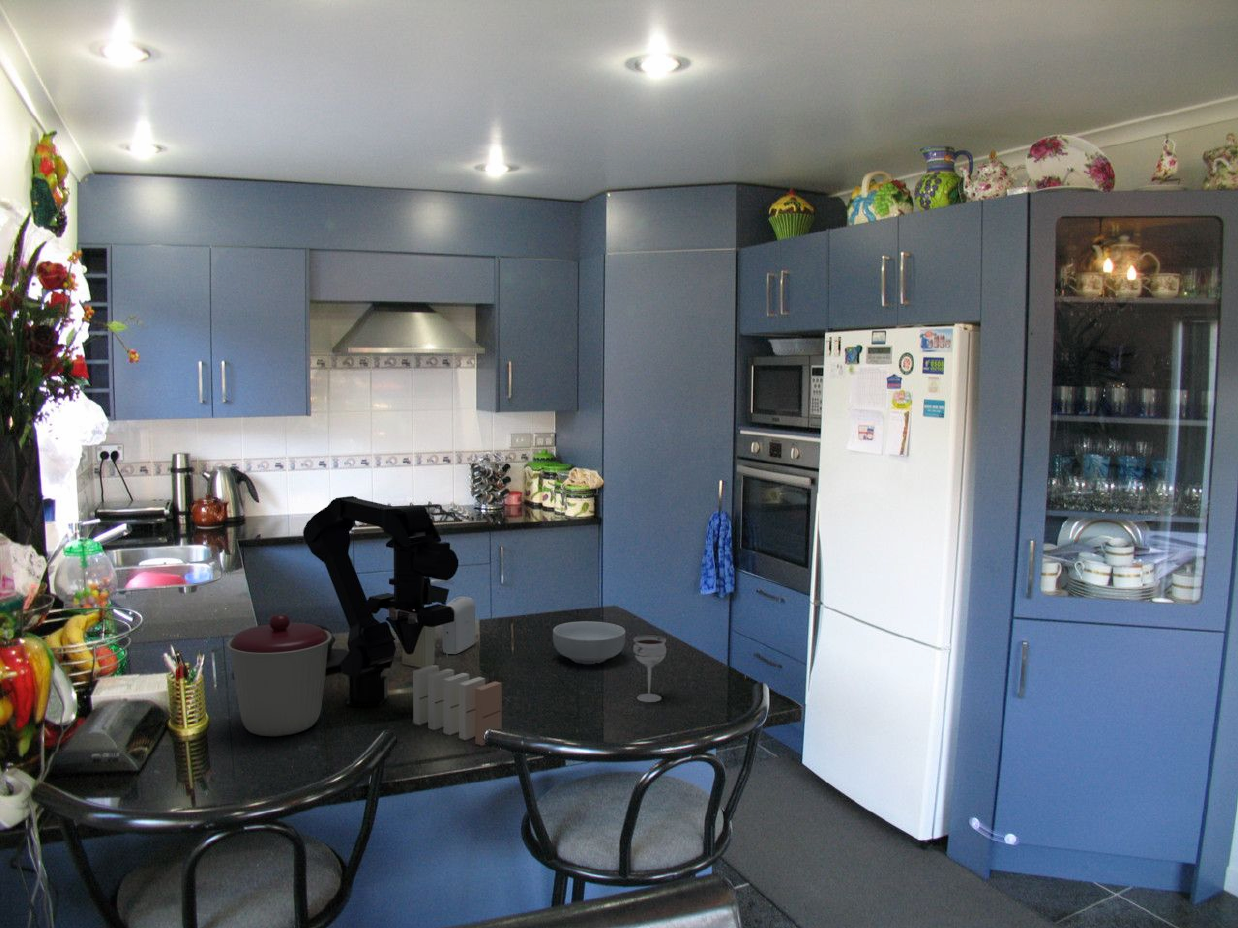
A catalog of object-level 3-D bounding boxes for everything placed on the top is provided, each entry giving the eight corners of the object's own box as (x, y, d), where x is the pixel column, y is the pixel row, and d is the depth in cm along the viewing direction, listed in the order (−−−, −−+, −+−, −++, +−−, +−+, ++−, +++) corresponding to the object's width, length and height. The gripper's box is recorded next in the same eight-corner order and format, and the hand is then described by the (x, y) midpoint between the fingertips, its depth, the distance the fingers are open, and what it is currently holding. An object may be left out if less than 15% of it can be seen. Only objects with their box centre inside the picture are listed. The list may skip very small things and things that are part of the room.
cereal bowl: (624, 671, 210) (625, 639, 210) (549, 670, 211) (549, 638, 210) (625, 649, 227) (626, 620, 227) (556, 648, 228) (556, 619, 227)
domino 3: (443, 732, 173) (443, 679, 172) (463, 725, 177) (463, 672, 176) (449, 735, 172) (449, 680, 171) (469, 726, 176) (469, 674, 175)
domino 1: (413, 723, 178) (412, 670, 177) (433, 715, 182) (433, 664, 181) (419, 725, 177) (418, 672, 176) (439, 717, 181) (438, 666, 180)
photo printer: (456, 655, 220) (456, 603, 219) (440, 653, 222) (439, 601, 221) (477, 644, 230) (477, 594, 229) (462, 642, 232) (461, 592, 230)
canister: (212, 725, 175) (209, 613, 173) (305, 702, 188) (303, 597, 186) (254, 754, 162) (251, 632, 161) (351, 727, 175) (349, 615, 173)
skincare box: (401, 664, 214) (400, 611, 212) (414, 659, 217) (414, 607, 216) (423, 668, 211) (423, 614, 210) (436, 663, 215) (436, 610, 213)
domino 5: (475, 743, 168) (475, 688, 167) (495, 735, 172) (495, 681, 171) (482, 745, 167) (482, 690, 166) (501, 737, 171) (501, 682, 170)
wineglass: (637, 704, 189) (638, 645, 188) (628, 693, 195) (629, 636, 194) (670, 701, 191) (671, 643, 190) (659, 691, 197) (660, 634, 196)
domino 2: (428, 728, 175) (427, 674, 174) (448, 720, 179) (447, 668, 178) (434, 729, 174) (433, 676, 173) (454, 722, 178) (453, 670, 177)
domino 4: (459, 738, 171) (458, 683, 170) (478, 729, 175) (478, 676, 174) (465, 740, 170) (465, 685, 169) (485, 731, 174) (485, 678, 173)
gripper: (475, 572, 180) (475, 653, 182) (408, 560, 191) (408, 636, 193) (431, 582, 171) (431, 667, 173) (363, 568, 182) (364, 648, 184)
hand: (409, 653), depth 181 cm, fingers closed
